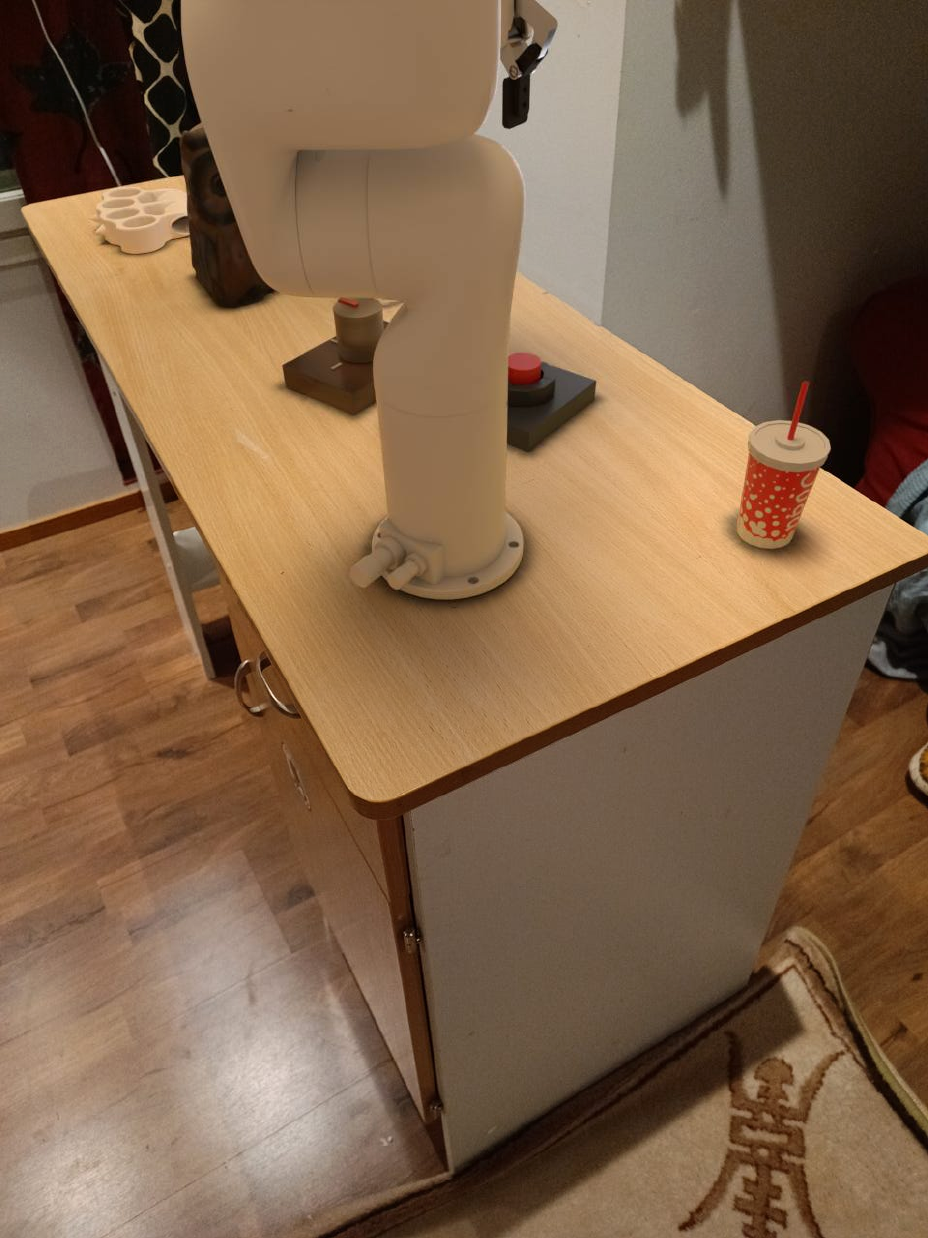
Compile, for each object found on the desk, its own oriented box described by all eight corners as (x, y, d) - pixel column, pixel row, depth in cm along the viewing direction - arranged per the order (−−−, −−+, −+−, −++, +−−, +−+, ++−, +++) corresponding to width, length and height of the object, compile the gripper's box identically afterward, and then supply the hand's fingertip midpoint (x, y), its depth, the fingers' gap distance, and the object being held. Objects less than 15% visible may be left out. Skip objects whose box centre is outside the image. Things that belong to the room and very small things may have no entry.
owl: (291, 262, 117) (264, 92, 103) (303, 302, 108) (276, 122, 94) (194, 274, 115) (154, 102, 101) (199, 315, 106) (155, 133, 92)
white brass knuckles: (210, 241, 123) (103, 260, 118) (185, 201, 134) (86, 217, 130) (205, 216, 120) (95, 235, 116) (179, 177, 132) (79, 193, 128)
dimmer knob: (395, 349, 93) (391, 301, 90) (363, 367, 91) (358, 319, 87) (360, 336, 96) (355, 289, 92) (328, 354, 93) (322, 306, 89)
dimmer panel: (354, 415, 89) (351, 392, 87) (285, 386, 93) (281, 363, 91) (440, 361, 97) (439, 338, 95) (373, 336, 101) (371, 314, 99)
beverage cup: (756, 562, 71) (799, 411, 62) (712, 520, 75) (746, 372, 66) (817, 542, 73) (868, 392, 63) (771, 502, 77) (812, 355, 67)
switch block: (528, 452, 84) (529, 415, 81) (446, 419, 88) (445, 383, 85) (594, 399, 90) (598, 364, 87) (515, 371, 95) (516, 336, 92)
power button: (527, 390, 85) (527, 373, 84) (497, 379, 86) (497, 362, 85) (547, 375, 87) (548, 358, 86) (518, 364, 88) (518, 348, 87)
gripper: (586, -120, 69) (571, 121, 81) (418, -128, 77) (427, 94, 89) (532, -111, 65) (525, 142, 77) (360, -120, 73) (378, 111, 85)
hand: (473, 116), depth 83 cm, fingers open, 9 cm apart
